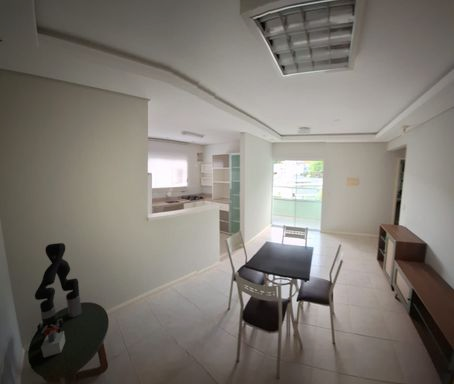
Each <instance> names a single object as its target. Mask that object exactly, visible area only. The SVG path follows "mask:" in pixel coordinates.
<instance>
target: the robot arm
mask: <svg viewBox="0 0 454 384" xmlns="http://www.w3.org/2000/svg"><path fill="white" fill-rule="evenodd" d="M44 251H45V254H46V256H47V258H48V259H49V261H50V263H51V264H50V265H49V266H47V268H46V269H45V270H44V274H43V276H42V279H41V283H40V284H39V286H38V288H37V289H36V290H35V293H34V299H35V300H37V301H40V300H43V301H41V303H40V306H39V307H40V315H41V322H42V323H41V322H39V323H38V324H37V326H36V327H37V334H41V336H42V338H44V337H45V336H46V332H45V330H46V328H52V327H54V328H57V329H58V333H60V332H62V328H63V327H64V319H63V317H60V318H58V319H57V314H56V313H57V312H56V308H55V302H54V298H55V293H56V290H55V288H54V287H48V286H51V285H53V284H54V283H55V280H56V276H57V278H58V279H59V283H60V286H61V289H62V291H63V292H68V293H67V294H66V296H65V299H66V304H67V311H68V317H69V318H74V317H77V316H79V315H80V314H82V311H83V310H82V305H81V303H82V302H81V297H80V288H79V280H78V278H70V279H67V277H68V275H69V274H70V272H71V267H70V264H69V262H68V261H67V260H66V259H64V257H63V256H64V255H65V252H66V244H65V243H64V242H58V243H49V244H47V245H46V247H45V249H44ZM55 324H56V325H55ZM42 327H43V328H42Z"/></svg>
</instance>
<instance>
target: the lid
mask: <svg viewBox="0 0 454 384" xmlns="http://www.w3.org/2000/svg"><path fill="white" fill-rule="evenodd" d="M63 334H64V335H65V331H64V330H63V331H62V330H61V332H60V333H56V330H53V331H51V332H50V333H49V335H47V336H46V338H45V339H43V342H42V344H41V346H40V349H42V348H45V347H48V346H52V345H56V344H59V343H60V341H61V339H62V337H63Z"/></svg>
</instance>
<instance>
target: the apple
mask: <svg viewBox="0 0 454 384" xmlns="http://www.w3.org/2000/svg"><path fill="white" fill-rule="evenodd" d="M55 325H56V324H55ZM53 330H56V333H58V329H57V328H54V327H52V328H46V330H45V332H46V336H47V335H49V333H50V332H51V331H53ZM46 336H45V337H43V340H45V338H46Z"/></svg>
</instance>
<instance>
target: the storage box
mask: <svg viewBox="0 0 454 384" xmlns="http://www.w3.org/2000/svg"><path fill="white" fill-rule="evenodd" d="M65 343H66V337H65V333H64V334H63V337H62V339H61V341H60V343H59V344H56V345H52V346H48V347H45V348H41V352H42V357H44V358H47V357H51V356H54V355H57V354H62V351H63V349H64V345H65Z"/></svg>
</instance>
